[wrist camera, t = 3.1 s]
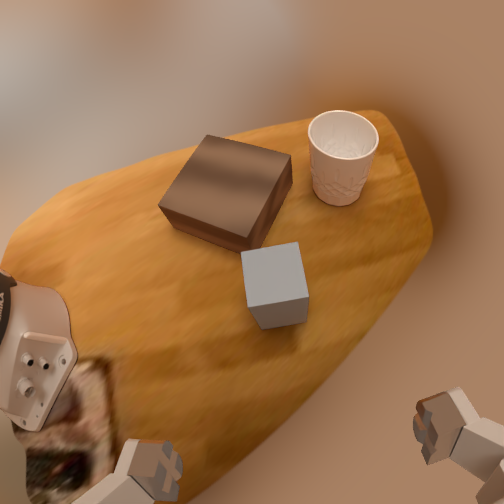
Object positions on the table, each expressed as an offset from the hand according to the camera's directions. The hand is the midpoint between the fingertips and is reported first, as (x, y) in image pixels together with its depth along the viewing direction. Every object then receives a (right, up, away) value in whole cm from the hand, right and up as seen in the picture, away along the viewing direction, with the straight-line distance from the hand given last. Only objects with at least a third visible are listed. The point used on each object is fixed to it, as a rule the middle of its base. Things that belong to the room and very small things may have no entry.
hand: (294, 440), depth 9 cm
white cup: (+10, +15, +33) cm, 37 cm away
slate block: (+2, 0, +27) cm, 27 cm away
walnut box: (-4, +12, +34) cm, 36 cm away
